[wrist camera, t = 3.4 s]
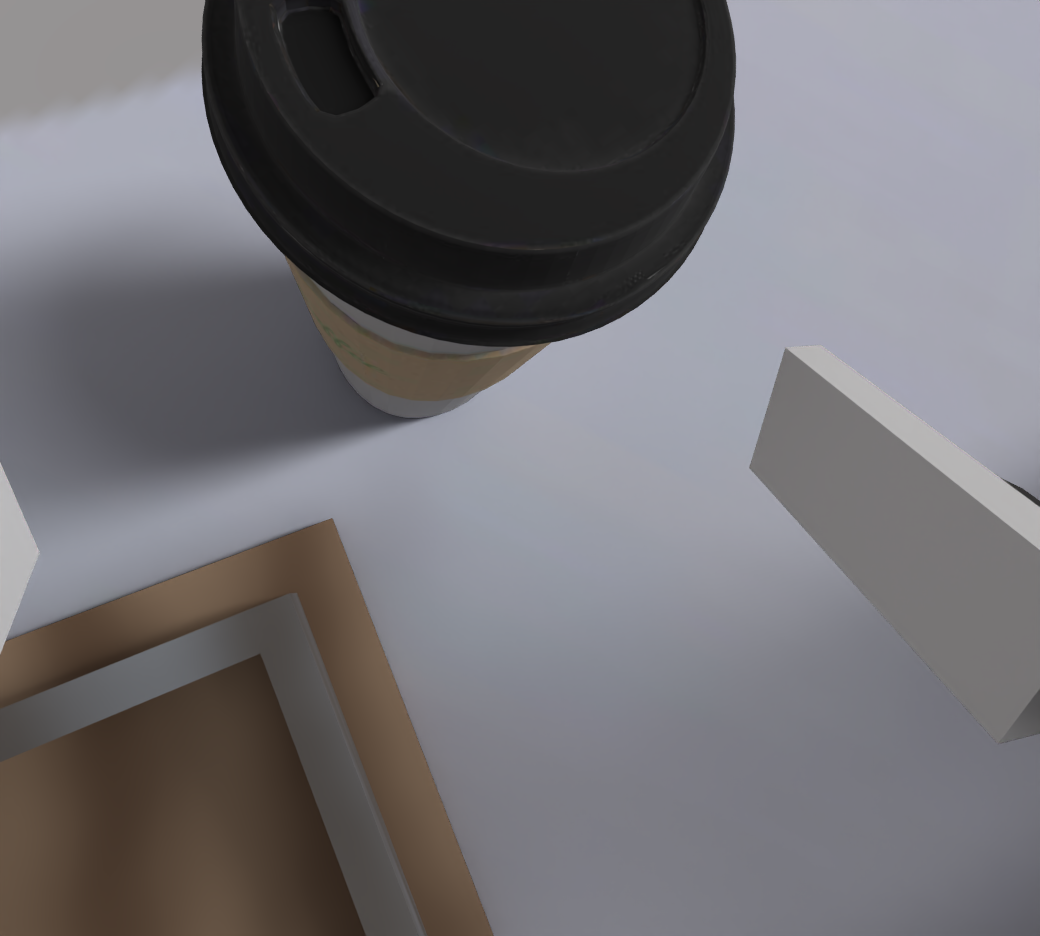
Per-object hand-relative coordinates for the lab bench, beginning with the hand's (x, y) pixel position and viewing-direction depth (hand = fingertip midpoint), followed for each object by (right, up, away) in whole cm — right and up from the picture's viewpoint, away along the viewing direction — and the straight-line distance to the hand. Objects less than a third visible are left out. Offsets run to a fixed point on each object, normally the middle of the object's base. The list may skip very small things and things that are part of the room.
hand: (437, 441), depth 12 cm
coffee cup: (-2, +4, +13) cm, 14 cm away
